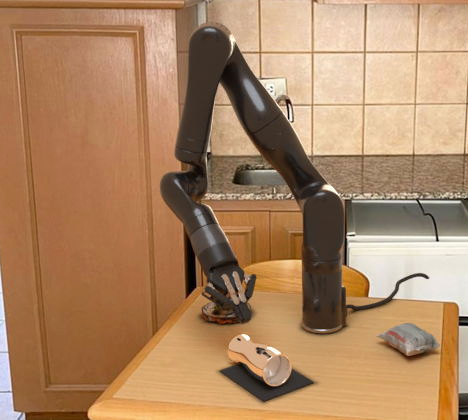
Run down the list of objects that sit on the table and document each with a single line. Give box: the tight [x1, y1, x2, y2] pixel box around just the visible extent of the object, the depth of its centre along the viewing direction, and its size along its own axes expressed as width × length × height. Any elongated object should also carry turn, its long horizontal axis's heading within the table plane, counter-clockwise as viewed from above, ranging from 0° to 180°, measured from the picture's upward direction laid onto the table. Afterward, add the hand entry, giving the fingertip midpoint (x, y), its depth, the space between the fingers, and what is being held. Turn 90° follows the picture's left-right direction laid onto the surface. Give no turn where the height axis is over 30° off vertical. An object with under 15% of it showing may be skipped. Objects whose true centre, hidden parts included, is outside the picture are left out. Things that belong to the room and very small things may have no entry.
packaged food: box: [376, 322, 441, 357], centre depth 174 cm, size 9×12×5 cm
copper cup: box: [227, 333, 293, 387], centre depth 163 cm, size 7×7×15 cm
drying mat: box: [219, 363, 315, 403], centre depth 163 cm, size 16×12×1 cm
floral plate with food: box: [201, 301, 253, 325], centre depth 193 cm, size 12×12×8 cm
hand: (246, 321), depth 165 cm, fingers closed
